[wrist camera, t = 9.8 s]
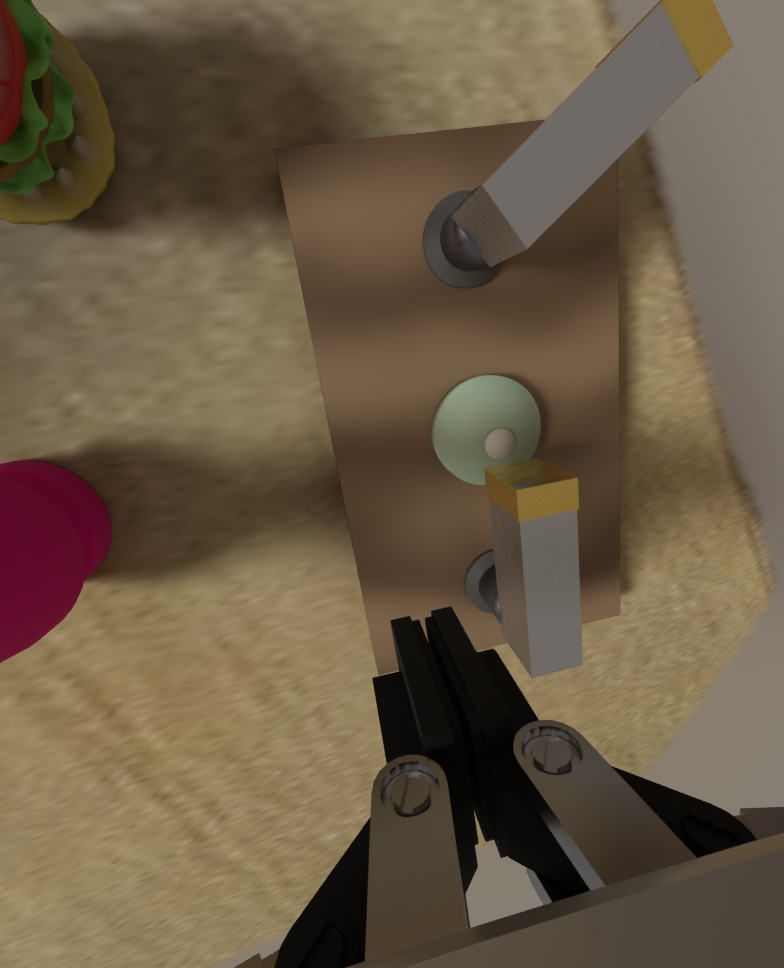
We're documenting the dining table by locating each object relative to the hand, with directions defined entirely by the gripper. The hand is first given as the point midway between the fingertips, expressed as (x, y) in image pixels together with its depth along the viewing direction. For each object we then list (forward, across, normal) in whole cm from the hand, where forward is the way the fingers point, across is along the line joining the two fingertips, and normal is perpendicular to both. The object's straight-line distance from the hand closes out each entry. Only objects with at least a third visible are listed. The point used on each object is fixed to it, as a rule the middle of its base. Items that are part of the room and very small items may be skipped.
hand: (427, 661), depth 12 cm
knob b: (+10, -6, +1) cm, 11 cm away
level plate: (+12, -6, -4) cm, 14 cm away
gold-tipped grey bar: (+9, -8, -13) cm, 18 cm away
